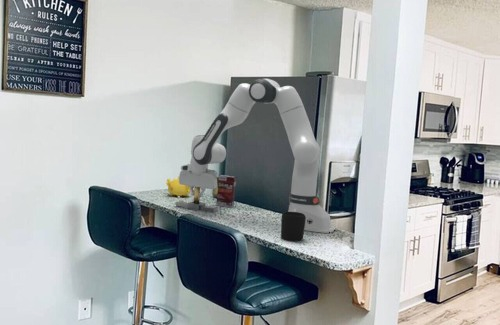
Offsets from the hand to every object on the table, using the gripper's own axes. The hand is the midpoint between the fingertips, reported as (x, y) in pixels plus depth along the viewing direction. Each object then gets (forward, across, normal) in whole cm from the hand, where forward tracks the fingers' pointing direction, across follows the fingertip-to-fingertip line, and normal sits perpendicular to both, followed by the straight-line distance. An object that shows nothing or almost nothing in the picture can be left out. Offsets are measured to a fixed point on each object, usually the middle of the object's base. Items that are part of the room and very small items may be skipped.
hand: (196, 196), depth 242 cm
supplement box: (+7, -6, -19) cm, 21 cm away
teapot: (+7, +29, -26) cm, 40 cm away
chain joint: (+6, 0, 0) cm, 6 cm away
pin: (+4, 0, 0) cm, 4 cm away
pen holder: (+6, -60, +26) cm, 66 cm away
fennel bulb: (+7, +11, -41) cm, 43 cm away
